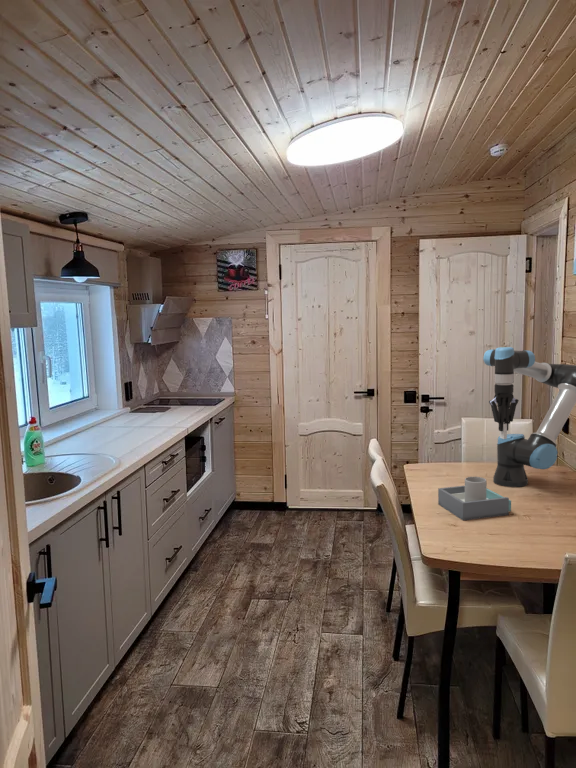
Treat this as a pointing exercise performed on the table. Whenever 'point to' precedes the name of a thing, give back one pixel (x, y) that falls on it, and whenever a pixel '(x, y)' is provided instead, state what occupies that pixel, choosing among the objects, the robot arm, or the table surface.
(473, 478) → the mug
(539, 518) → the table surface
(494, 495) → the tray
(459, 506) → the dock
